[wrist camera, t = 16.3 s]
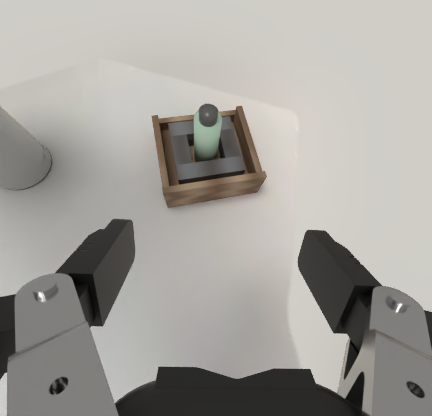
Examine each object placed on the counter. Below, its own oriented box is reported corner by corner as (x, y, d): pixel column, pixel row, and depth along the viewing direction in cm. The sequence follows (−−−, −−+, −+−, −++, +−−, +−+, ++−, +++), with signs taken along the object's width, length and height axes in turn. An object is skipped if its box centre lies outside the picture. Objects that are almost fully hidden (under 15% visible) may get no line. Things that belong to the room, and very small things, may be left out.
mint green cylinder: (196, 168, 40) (196, 125, 29) (192, 149, 41) (191, 101, 31) (218, 165, 41) (226, 121, 30) (213, 146, 42) (219, 98, 31)
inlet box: (167, 207, 38) (163, 193, 33) (155, 130, 43) (149, 106, 38) (256, 192, 41) (266, 176, 35) (235, 120, 46) (241, 97, 40)
